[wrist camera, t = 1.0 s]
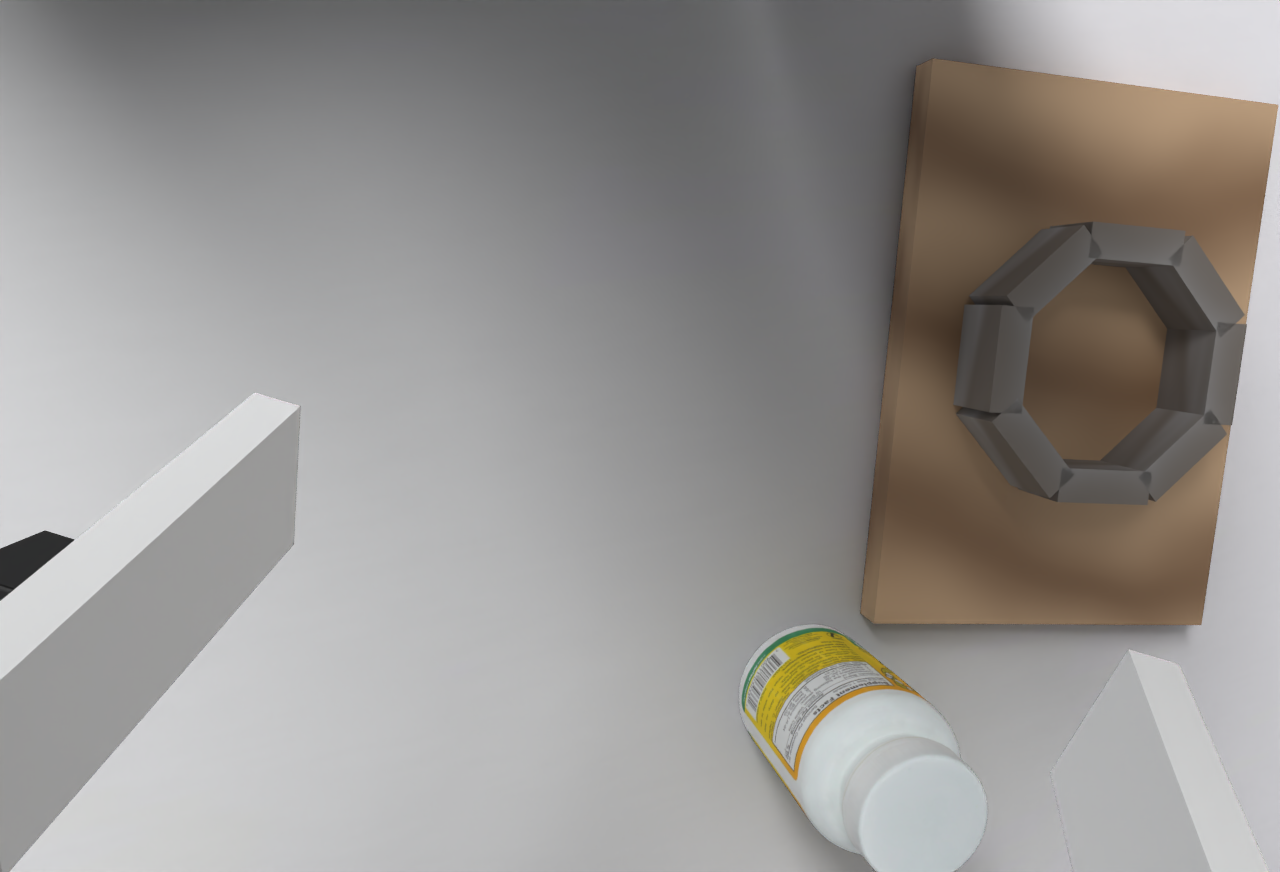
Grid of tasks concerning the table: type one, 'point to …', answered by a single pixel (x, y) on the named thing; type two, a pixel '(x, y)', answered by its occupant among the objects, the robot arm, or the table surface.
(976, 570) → the board
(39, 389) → the table surface
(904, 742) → the supplement bottle
